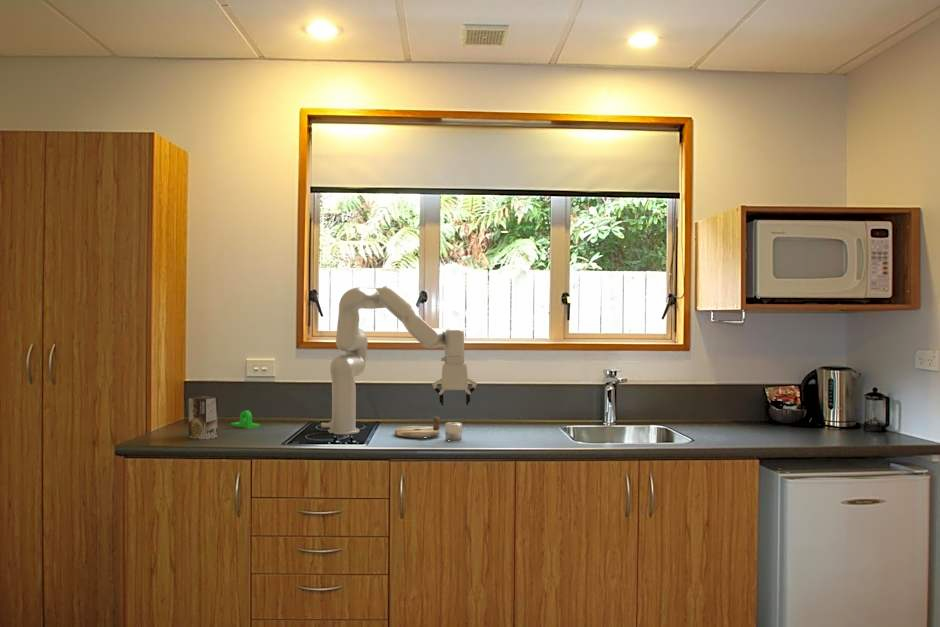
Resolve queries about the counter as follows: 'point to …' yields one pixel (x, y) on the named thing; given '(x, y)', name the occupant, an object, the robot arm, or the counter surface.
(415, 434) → the turntable
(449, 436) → the silver rounded piece
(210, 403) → the coffee box
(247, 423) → the mechanical part
